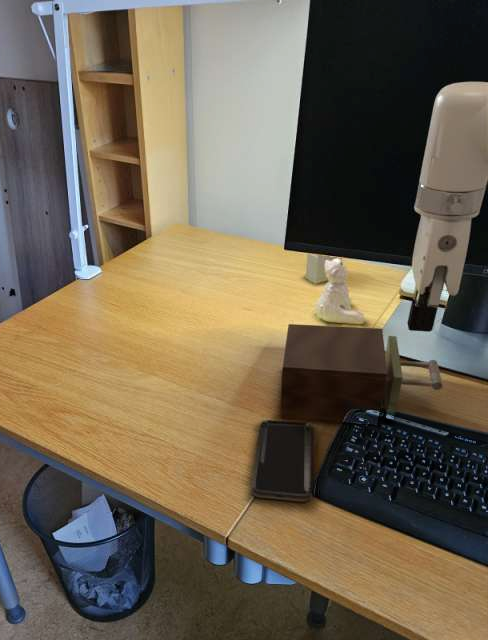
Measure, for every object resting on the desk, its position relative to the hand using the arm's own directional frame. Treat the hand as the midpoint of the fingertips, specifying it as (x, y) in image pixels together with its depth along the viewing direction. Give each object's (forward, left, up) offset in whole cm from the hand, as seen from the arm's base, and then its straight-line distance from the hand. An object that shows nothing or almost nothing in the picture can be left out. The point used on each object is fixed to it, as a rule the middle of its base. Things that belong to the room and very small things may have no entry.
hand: (419, 328), depth 80 cm
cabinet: (+11, 0, -14) cm, 18 cm away
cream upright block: (+13, -45, -14) cm, 49 cm away
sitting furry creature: (+10, -27, -14) cm, 32 cm away
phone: (+17, +16, -14) cm, 27 cm away
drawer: (+6, 0, -13) cm, 14 cm away
